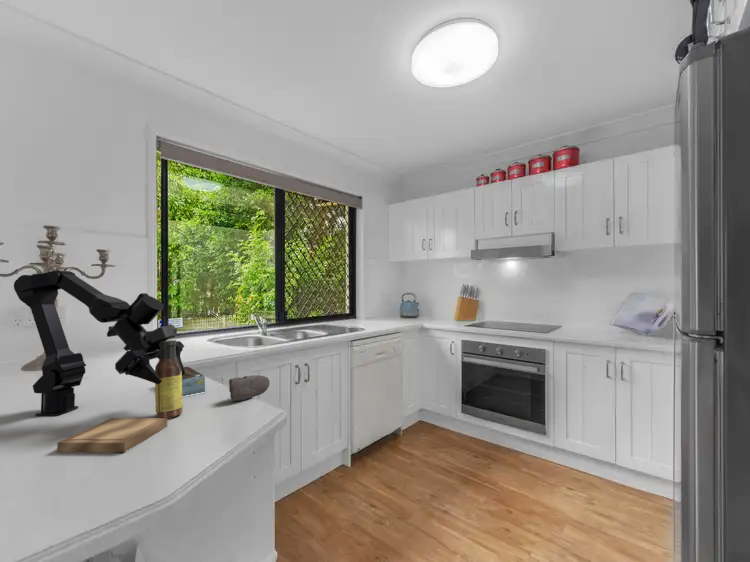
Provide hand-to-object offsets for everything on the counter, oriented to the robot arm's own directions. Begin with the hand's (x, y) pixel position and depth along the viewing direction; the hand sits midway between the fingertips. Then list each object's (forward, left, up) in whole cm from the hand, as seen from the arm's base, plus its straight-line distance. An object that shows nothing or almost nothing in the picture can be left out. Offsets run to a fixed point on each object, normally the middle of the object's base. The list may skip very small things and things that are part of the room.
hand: (172, 378), depth 92 cm
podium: (-4, -14, -10) cm, 18 cm away
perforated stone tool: (+14, +17, -10) cm, 24 cm away
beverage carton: (-12, +26, -10) cm, 30 cm away
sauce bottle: (-1, 0, -10) cm, 10 cm away
